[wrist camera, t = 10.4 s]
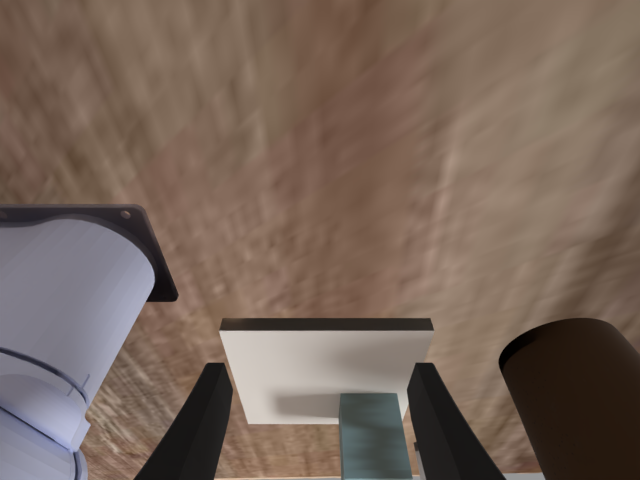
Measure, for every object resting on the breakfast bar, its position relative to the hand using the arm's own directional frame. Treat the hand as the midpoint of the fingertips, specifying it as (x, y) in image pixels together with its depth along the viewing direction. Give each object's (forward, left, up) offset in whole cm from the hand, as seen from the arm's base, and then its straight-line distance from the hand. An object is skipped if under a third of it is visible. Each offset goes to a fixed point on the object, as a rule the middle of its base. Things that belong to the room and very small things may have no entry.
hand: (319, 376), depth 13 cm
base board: (+1, -17, -9) cm, 19 cm away
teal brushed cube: (+5, -21, -8) cm, 23 cm away
